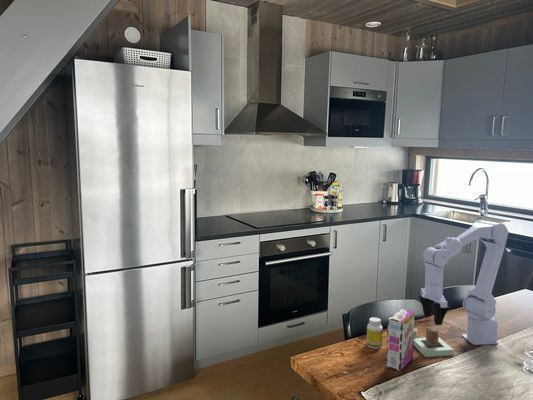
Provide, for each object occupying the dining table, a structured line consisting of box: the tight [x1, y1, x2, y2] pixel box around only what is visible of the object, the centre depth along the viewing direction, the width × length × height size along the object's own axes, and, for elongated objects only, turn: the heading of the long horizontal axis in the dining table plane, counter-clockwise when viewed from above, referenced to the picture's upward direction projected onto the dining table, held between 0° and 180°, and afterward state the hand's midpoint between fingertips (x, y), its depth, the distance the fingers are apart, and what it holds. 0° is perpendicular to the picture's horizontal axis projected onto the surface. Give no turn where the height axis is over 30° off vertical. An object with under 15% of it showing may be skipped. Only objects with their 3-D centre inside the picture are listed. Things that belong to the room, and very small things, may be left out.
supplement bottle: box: [366, 316, 383, 349], centre depth 145 cm, size 5×5×10 cm
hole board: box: [413, 337, 455, 358], centre depth 142 cm, size 10×10×2 cm
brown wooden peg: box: [425, 327, 440, 348], centre depth 142 cm, size 4×4×7 cm
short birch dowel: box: [413, 328, 419, 338], centre depth 149 cm, size 4×4×4 cm
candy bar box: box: [386, 308, 415, 372], centre depth 132 cm, size 11×5×16 cm, turn 141°
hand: (432, 320), depth 141 cm, fingers open, 7 cm apart
